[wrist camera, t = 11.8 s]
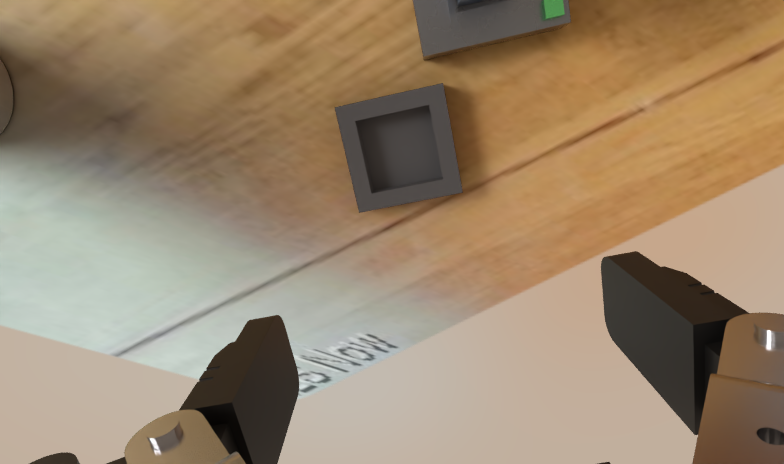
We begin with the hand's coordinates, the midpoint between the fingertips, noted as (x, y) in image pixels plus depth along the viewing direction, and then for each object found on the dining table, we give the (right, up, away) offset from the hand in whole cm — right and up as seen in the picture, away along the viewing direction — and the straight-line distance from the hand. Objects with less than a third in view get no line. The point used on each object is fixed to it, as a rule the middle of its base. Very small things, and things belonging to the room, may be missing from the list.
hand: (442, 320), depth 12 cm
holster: (-1, +9, +26) cm, 27 cm away
